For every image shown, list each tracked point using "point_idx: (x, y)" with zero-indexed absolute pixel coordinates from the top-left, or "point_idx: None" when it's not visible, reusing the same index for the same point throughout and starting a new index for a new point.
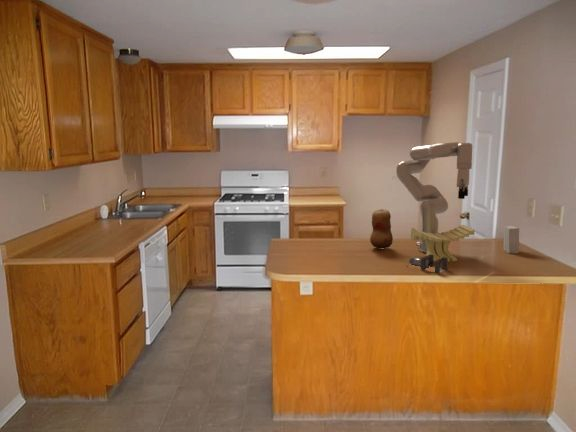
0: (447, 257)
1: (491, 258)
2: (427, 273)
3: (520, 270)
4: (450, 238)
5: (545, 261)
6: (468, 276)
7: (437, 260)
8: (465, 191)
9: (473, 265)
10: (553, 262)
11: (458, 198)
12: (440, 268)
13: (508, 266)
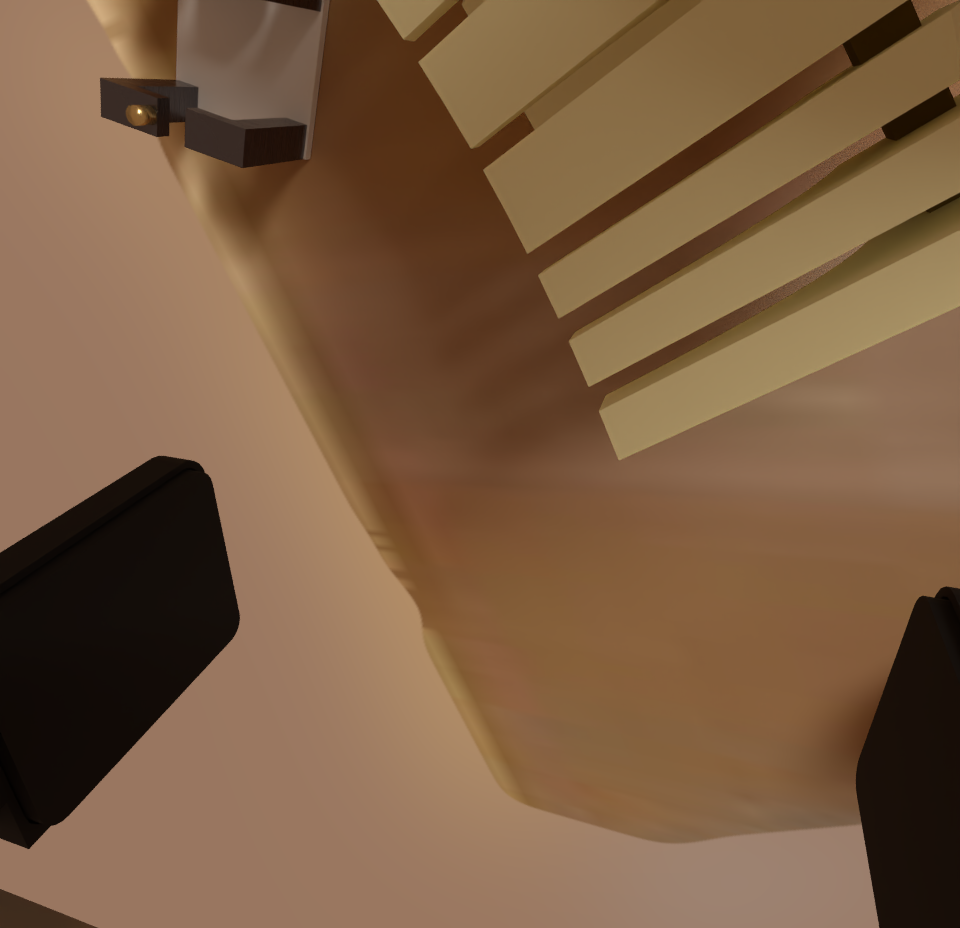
0: (581, 93)
1: (785, 472)
2: (167, 15)
3: (521, 617)
4: (540, 127)
5: (787, 778)
6: (262, 327)
7: (122, 97)
8: (922, 919)
9: (522, 342)
10: (772, 808)
11: (171, 459)
12: (298, 97)
13: (585, 565)
